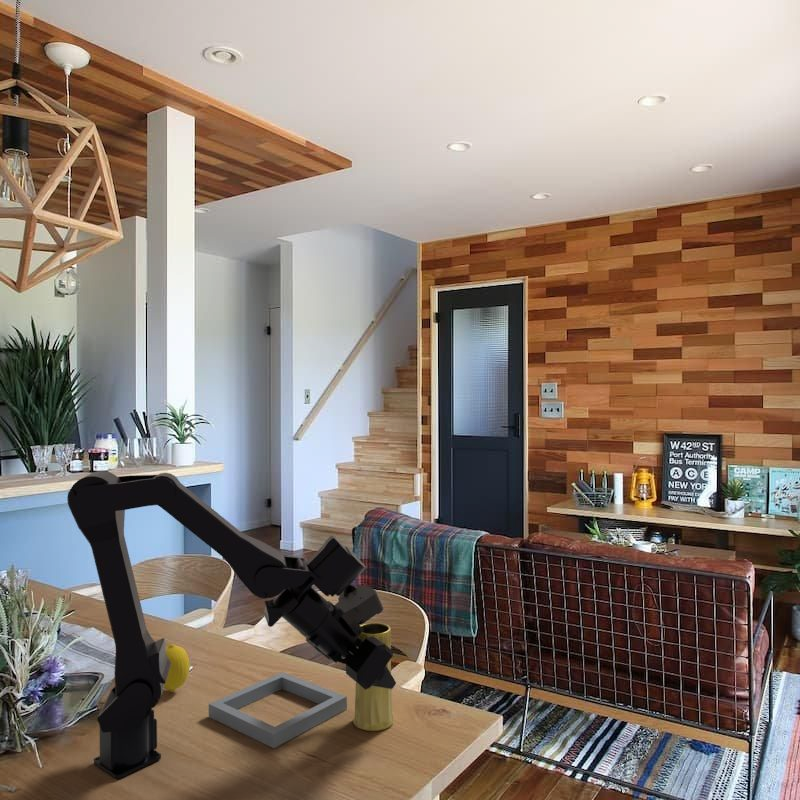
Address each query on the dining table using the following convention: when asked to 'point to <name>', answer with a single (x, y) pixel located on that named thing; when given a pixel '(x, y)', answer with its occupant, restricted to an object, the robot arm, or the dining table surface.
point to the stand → (287, 730)
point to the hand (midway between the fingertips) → (381, 676)
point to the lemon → (176, 667)
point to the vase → (374, 689)
